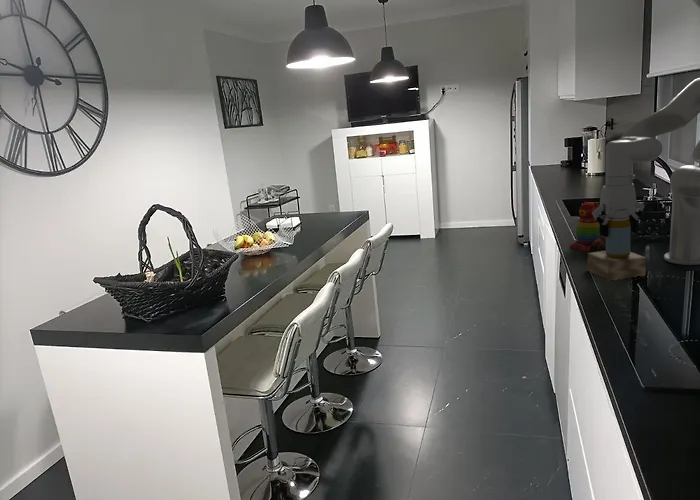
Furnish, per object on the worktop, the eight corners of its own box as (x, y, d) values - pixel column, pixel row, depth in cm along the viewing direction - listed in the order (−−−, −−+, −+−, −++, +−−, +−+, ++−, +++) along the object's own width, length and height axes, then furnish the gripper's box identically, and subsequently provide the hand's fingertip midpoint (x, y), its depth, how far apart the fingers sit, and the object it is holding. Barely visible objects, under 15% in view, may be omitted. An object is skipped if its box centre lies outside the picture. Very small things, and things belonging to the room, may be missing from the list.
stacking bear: (567, 247, 203) (567, 202, 199) (588, 243, 206) (588, 198, 202) (589, 253, 193) (589, 206, 189) (610, 248, 197) (611, 201, 192)
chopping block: (620, 265, 177) (621, 248, 176) (645, 275, 166) (646, 257, 164) (587, 270, 176) (587, 253, 174) (610, 281, 164) (610, 262, 163)
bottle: (633, 257, 164) (633, 210, 161) (608, 258, 166) (608, 212, 163) (626, 252, 171) (627, 206, 168) (603, 253, 173) (603, 208, 169)
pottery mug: (587, 253, 196) (598, 233, 194) (611, 266, 192) (624, 246, 190) (584, 254, 185) (596, 233, 183) (610, 267, 181) (623, 246, 179)
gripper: (636, 175, 168) (634, 227, 172) (586, 183, 166) (585, 235, 170) (652, 178, 161) (650, 232, 165) (600, 186, 159) (600, 240, 163)
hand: (617, 233), depth 168 cm, fingers open, 9 cm apart
